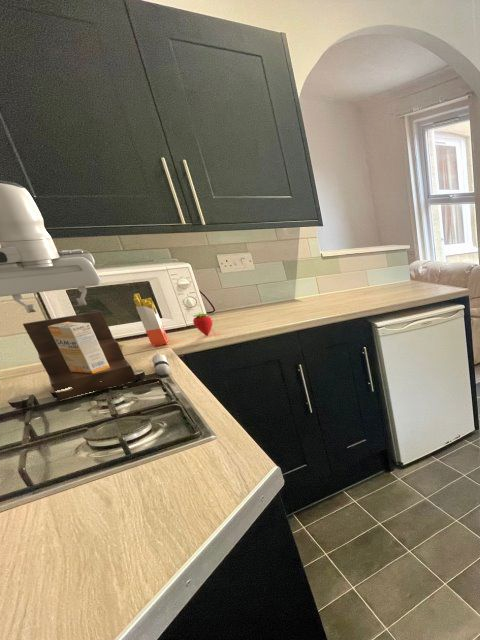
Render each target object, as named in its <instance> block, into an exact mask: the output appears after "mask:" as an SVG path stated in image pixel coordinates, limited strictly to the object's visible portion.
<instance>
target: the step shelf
mask: <svg viewBox="0 0 480 640" xmlns="http://www.w3.org/2000/svg"><path fill="white" fill-rule="evenodd" d="M64 322H78V323H90V325H91V327H92V329H93V332H94V334H95V336H96V338H97V340H98V343H99V345H100V347H101V349H102V351H103V353H104V356H105V358H106V360H107V362H108V364H109V366H110V368H108V369H105V370H102V371H99V372H96V373H93V374H92V373H81V372H71V371H70V369H69V367H68V365H67V363H66V361H65V359H64V357H63V355H62V353H61V351H60V349H59V348H58V346H57V344H56V342H55V340H54V338H53V336H52V334H51V332H50V330H49V328H48V326H51V325H55V324H59V323H64ZM22 325H23V328H24V330H25V331H26V333H27V335H28V337H29V339H30V341H31V343H32V344H33V346H34V348H35V350H36V352H37V354H38V359H39V361H40V363H41V365H42V366H43V368H44V370H45V372H46V373H47V376H48V379H49V383H50V386H51V388H52V390H53V391H54V392H55V391H57V390H61V389H65V388H68V387H72V388H73V389H72V390H71V391H67V392H63V393H57V394H56V393H55V395H56V396H57V399H58V401H60V400H62V399H65V398H69V397H73V396H77V395H81V394H85V393H89V392H93V391H96V390H100V389H104V388H108V387H114V386H119V385H122V384H127V383H128V382H131V381H135V380H138V378H137V376H136V374H135V372H134V369H133V367H132V365H131V364H130V362H128V360H127V359H126V358H125V355H124V353H123V351H122V349H120V347H119V345H118V343H119V342H118V341H117V340H116V339H115V337H114V336H113V334H112V331H111V329H110V327H109V325H108V323H107V321H106V319H105V316H104V313H103V312H102V310H98V311H92V312H87V313H86V312H85V313H81V314H79V313H78V314H75V315H74V314H73V315H68V316H62V317H55V318H49V319H43V320H38V321H33V322H32V321H31V322H25V323H24V322H23V323H22ZM100 381H102V382H100ZM127 385H128V384H127Z"/></svg>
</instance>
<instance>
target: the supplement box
mask: <svg viewBox="0 0 480 640" xmlns="http://www.w3.org/2000/svg"><path fill="white" fill-rule="evenodd" d="M48 328H49V330H50V332H51V334H52V336H53V338H54V340H55V342H56V344H57V346H58V348H59V349H60V351H61V353H62V355H63V357H64V359H65V361H66V363H67V365H68V367H69V369H70V371H71V372H81V373H92V374H93V373H96V372H99V371H102V370H105V369H108V368H110V366H109V364H108V362H107V360H106V358H105V356H104V353H103V351H102V349H101V347H100V345H99V343H98V340H97V338H96V336H95V334H94V332H93V329H92V327H91V325H90V323H78V322H64V323H59V324H55V325H51V326H48Z"/></svg>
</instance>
